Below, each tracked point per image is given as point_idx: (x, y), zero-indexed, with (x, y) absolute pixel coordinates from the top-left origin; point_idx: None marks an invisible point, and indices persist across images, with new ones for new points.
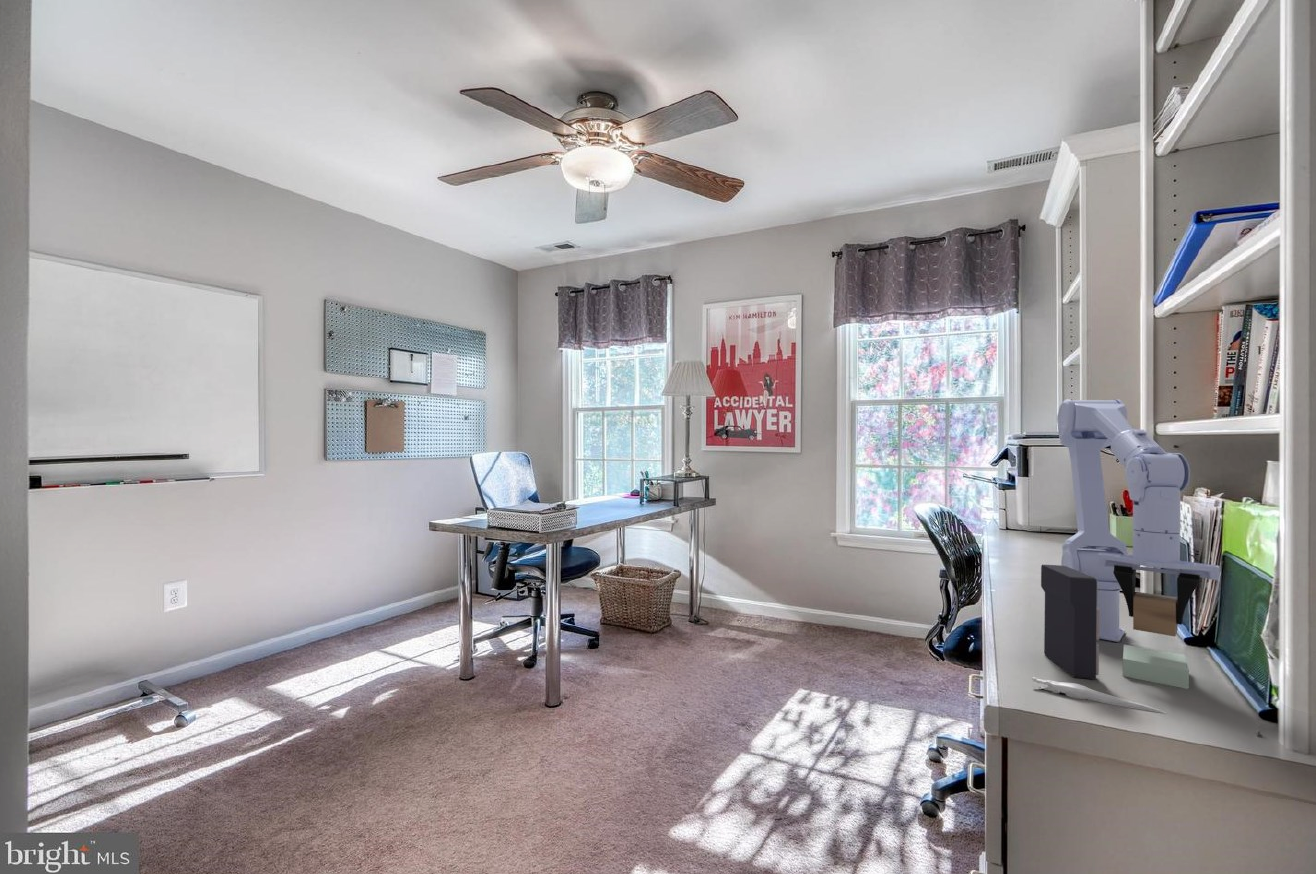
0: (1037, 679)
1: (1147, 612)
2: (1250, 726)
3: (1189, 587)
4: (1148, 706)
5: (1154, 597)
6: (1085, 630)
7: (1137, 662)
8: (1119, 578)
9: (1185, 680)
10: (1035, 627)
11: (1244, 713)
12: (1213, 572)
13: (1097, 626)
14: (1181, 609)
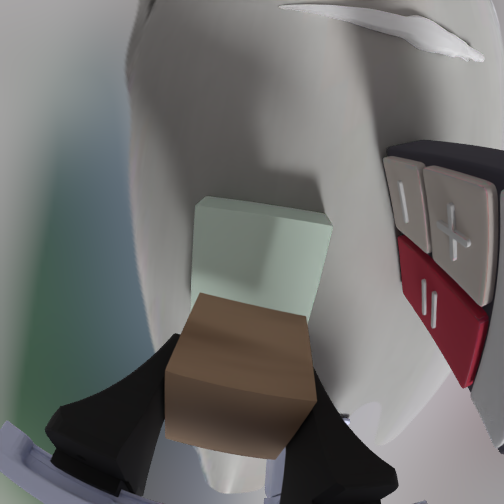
0: (478, 52)
1: (268, 351)
2: (150, 32)
3: (87, 413)
4: (308, 9)
5: (234, 422)
6: (471, 150)
7: (301, 220)
8: (377, 464)
9: (207, 200)
10: (385, 418)
11: (140, 97)
12: (4, 449)
13: (450, 172)
14: (156, 361)
